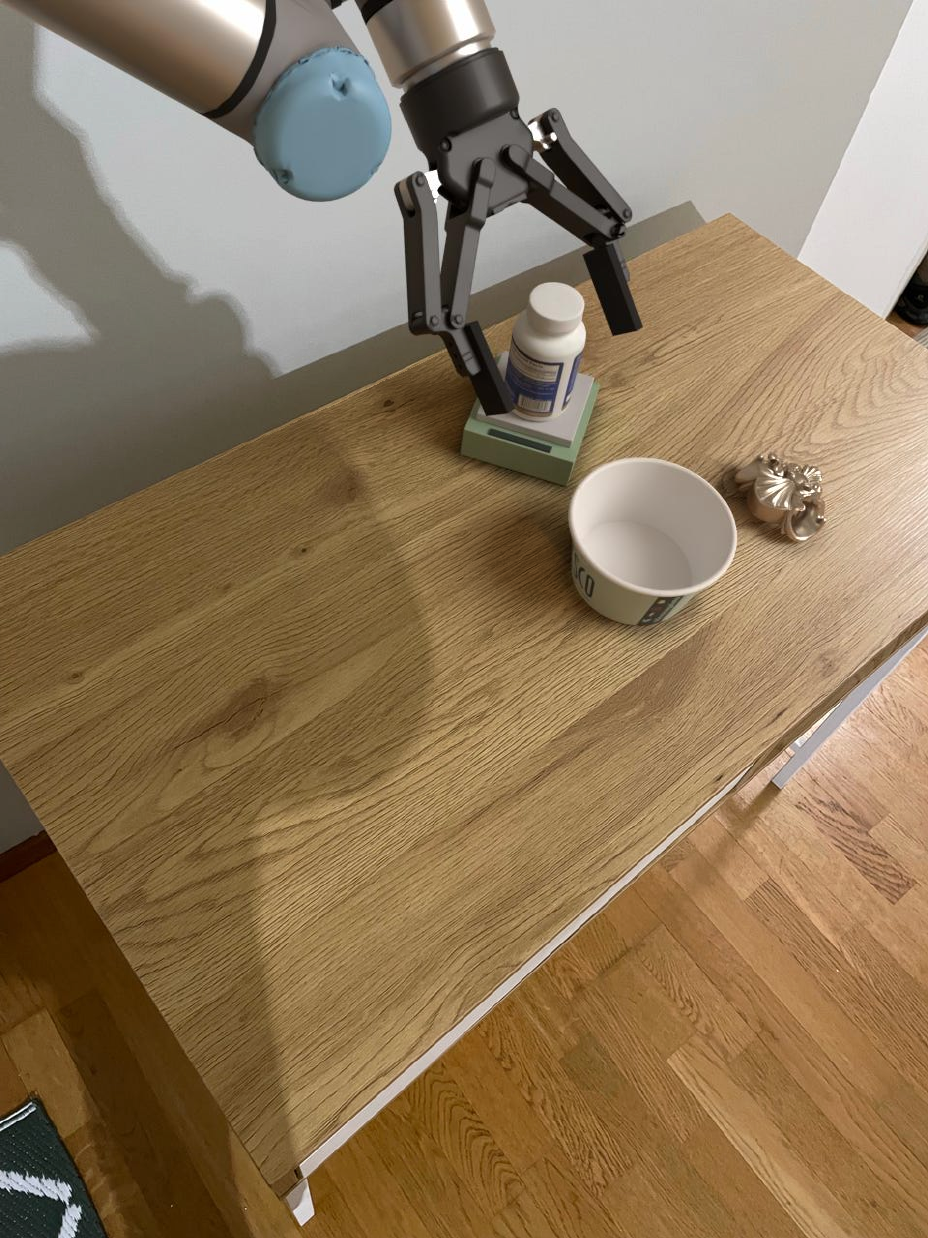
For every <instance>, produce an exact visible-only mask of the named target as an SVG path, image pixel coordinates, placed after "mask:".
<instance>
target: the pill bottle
mask: <svg viewBox="0 0 928 1238" xmlns="http://www.w3.org/2000/svg"><path fill="white" fill-rule="evenodd" d="M584 309H585V300H584V298H583V296H582V295H581V293H580V292H579V291H578V290H577V289H576V288H574V287H572V286H571V285H569V284H566V283H563V282H557V281H551V282H543V283H540V284H538V285H536V286H535V287H534V288H533V289H532V290H531V291H530V293H529V296H528V301H527V306H526V308H525V309H524V310H522V311H521V312H520V313H519V315H517V317H516V320H515V321H514V325H513V327H512V333H511V341H510V346H509V351H508V352H509V357H508V362H507V368H506V374H505V380H504V383H505V385H506V388H507V390H508V392H509V395H510V397H511V399H512V402H513V404H514V406H515V409H514V410H512V411H513V412H514V413H515V414H516V415H518V416H520V417H522V418H524V419H527V420H531V421H547V420H551V419H554V418H557V417H558V416H560V415H561V414H562V413H563V412H564V411H565V410H566V409H567V407H568V405H569V402H570V399H571V395H572V391H573V387H574V383H575V380H576V376H577V372H578V373H579V368H580V363H581V361H582V357H583V352H584V349H585V344H586V338H587V332H586V327H585V324H584V322H583V314H584Z"/></svg>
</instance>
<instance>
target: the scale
mask: <svg viewBox="0 0 928 1238" xmlns="http://www.w3.org/2000/svg"><path fill="white" fill-rule="evenodd" d="M493 357H494V360H495V362H496V364H497V367H498V369H499V371H500V374H501V376H502V378H503V381H504V380H505V374H506V368H507V362H508V357H509V351H506V350H502V353H501V354H500V353H495V355H494V356H493ZM594 380H595V376H591V375H588V374H585V373H581V372H579V371H578V372H577V376H576V380H575V383H574V387H573V391H572V395H571V399H570V402H569V405H568V407H567V409H566V410H565V411H564V412H563V413H562V414H561V415H560V416H558V417H557V418H554V419H551V420H547V421H531V420H527V419H524V418H522V417H520V416H518V415H516V414H515V413H514V412H513V411H511V412H509V413H507V414H499V415H491V416H486V415H485V412H484V410H483V408H482V406H481V403H480V401H479V399H478V397H477V396H476V399H475V402H474V404H473V406H472V409H471V411H470V413H469V416H468V418H467V420H466V422H465V425H464V427H463V431H462V438H461V446H460V455H462V456H465V457H467V458H468V457H469V458H471V459H474V460H478V461H482V462H485V463H488V464H491V465H495V466H497V467H498V466H499V467H500V468H504V469H508V470H511V471H514V472H517V473H521V474H524V475H528V476H531V477H534V478H537V479H540V480H544V481H547V482H551V483H553V484H557V485H559V486H565V487H568V485H569V482H570V479H571V476H572V473H573V471H574V467H575V464H576V462H577V459H578V455H579V452H580V449H581V446H582V443H583V441H584V438H585V434H586V431H587V429H588V425H589V423H590V419H591V416H592V413H593V410H594V407H595V404H596V400H597V397H598V394H599V390H600V387H601V383H599V382H595V381H594Z"/></svg>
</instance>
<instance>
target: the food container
mask: <svg viewBox="0 0 928 1238" xmlns="http://www.w3.org/2000/svg"><path fill="white" fill-rule="evenodd" d="M567 520H568V521H567V522H568V528H569V532H570V536H571V538H572V540H571V541H572V542H571V576H572V581H573V583H574V585H575V588H576V590H577V592H578V594H579V595H580V597H581V598H582V599H583V601H585V603H586V604H587V605H588V606H589V607H591V608H592V609H593V610H594V611H595V612H596V613H598V614H599V615H601V616H603V617H605V618H607V619H609V620H612V621H614V622H616V623H620V624H624V625H628V626H629V625H630V626H650V625H656V624H660V623H662V622H664V621H666V620H669V619H670V618H671V617H673V616H675V615H676V614H678V613H679V612H680V611H681V609H682V608H683V607H684V606H686V605H687V604H688V603H689V602H690V601H691V600H692V599H693V598H694V597H695V596H696V595H697V594H698V593H699V592H701V591H702V590H704V589H706V588H708V587H710V586H711V585H713V584H715V583H716V582H717V581H718V580H719V579H721V577H723V575H724V574H725V573H726V572H727V570H728V569H729V568H730V566H731V564H732V563H733V560H734V558H735V554H736V550H737V545H738V532H737V526H736V521H735V517H734V515H733V513H732V511H731V509H730V507H729V506H728V504H727V501H725V499H724V497H723V496H722V495H721V494H720V493H719V491H717V489H716V488H715V487H714V486H713V485H712V484H711V483H710V482H708V481H707V480H706V479H705V478H703V477H702V476H700V475H699V474H697V473H696V472H694V471H692V470H691V469H688V468H687V467H684V466H682V465H680V464H677V463H675V462H671V461H668V460H664V459H660V458H655V457H646V456H635V457H634V456H633V457H624V458H619V459H615V460H611V461H607V462H606V463H604V464H602V465H599V466H597V467H596V468H594V469H593V470H591V471H590V472H589V473H587V474H586V475H585V476H584V477H583V478H582V479H581V480H580V482H578V484H577V485H576V486H575V489H574V491H573V492H572V494H571V497H570V500H569V505H568V511H567Z"/></svg>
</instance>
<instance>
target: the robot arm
mask: <svg viewBox="0 0 928 1238" xmlns="http://www.w3.org/2000/svg"><path fill="white" fill-rule="evenodd" d="M353 1H354V3H355V4H356V6H357V8H358V11H359V12H360V13H361V14H360V15H361V17H362V20H363V23H364V24H365V25H364V26H365V27H366V29H367V32H368V33H369V36H370V38H371V40H372V44H373V45H374V48H375V50H376V53H377V56H378V57H379V59H380V62H381V64H382V66H383V70H384V71H385V74H386V76H387V78H388V81H389V83H390V86H391V87H392V88H395V89H397V90H400V89H402V90H403V94H402V95H401V97H400V99H399V100H400V103H398V104H399V105H398V106H399V108H400V110H401V113H402V115H403V118H404V120H405V122H406V125H407V127H408V129H409V132H410V134H411V136H412V139H413V143H414V144H415V146H416V148H417V150H418V151H419V152H420V153H422V154H423V155H424V157H425V158H426V161H427V166H428V171H427V172H423V171H420V170H416V171H415V172H413V173H411V174H409V175H407V176H405V177H404V178H403V179H401V180H399V181H397V182H396V183H395V184H394V186H393V193H394V196H395V199H396V202H397V206H398V208H399V211H400V214H401V218H402V221H403V223H402V224H403V239H404V240H403V241H404V242H403V243H404V244H403V245H404V262H405V285H406V286H405V287H406V304H407V305H406V306H407V325H408V326H407V327H408V330H409V332H410V334H412V335H413V336H414V337H415V336H416V337H418V336H423V335H432V336H439V337H440V338H441V340H442V342H443V344H444V346H445V348H446V351H447V354H448V355H449V357H450V359H451V362H452V364H453V366H454V369H455V371H456V373H457V374H458V375H459V376H460V377H461V378H469V380H470V383H471V385H472V388H473V390H474V392H475V394H476V398H477V397H478V399H479V401H480V403H481V406H482V408H483V410H484V412H485V415H486V416H491V415H499V414H507V413H509V412H511V411H512V410H514V409H515V406H514V404H513V402H512V399H511V397H510V395H509V392H508V390H507V388H506V385H505V383H504V381H503V378H502V376H501V374H500V371H499V369H498V367H497V364H496V362H495V360H494V357H495V356H494V355H493V353H492V350H491V348H490V346H489V344H488V341H487V338H486V336H485V334H484V332H483V329H482V327H481V325H480V321H479V320H474V321H471V322H466V321H467V316H468V309H469V304H470V297H471V291H472V286H473V279H474V273H475V266H476V260H477V256H478V255H477V254H478V249H479V242H480V237H481V231H482V230H483V228H484V226H485V225H486V222H487V219H488V218H491V217H493V216H495V215H497V214H499V213H501V212H503V211H504V210H506V209H507V208H509V207H511V206H514V205H516V204H518V203H521V204H525V205H526V204H527V205H530V206H531V207H533V208H534V209H535V210H537V211H538V212H539V213H541V214H543V215H544V216H545V217H547V218H548V219H550V220H551V221H552V222H554V223H555V224H557V225H558V226H560V227H561V228H563V229H564V230H566V231H567V232H568V233H570V234H571V235H573V236H574V237H575V238H577V239H579V240H580V241H582V243H584V244H586V245H587V246H588V247H591V248H593V249H591V250H589V251H586V252H585V253H583V254H582V258H583V261H584V263H585V266H586V269H587V272H588V275H589V278H590V279H591V282H592V285H593V287H594V290H595V292H596V295H597V299H598V301H599V303H600V306H601V309H602V311H603V314H604V317H605V319H606V322H607V325H608V328H609V331H610V333H611V336H612V337H616V336H620V335H624V334H629V333H634V332H638V331H640V330H641V329H642V328H644V325H643V323H642V320H641V318H640V314H639V311H638V309H637V306H636V303H635V301H634V298H633V295H632V292H631V288H630V285H629V284H628V283H629V282H630V281H631V274H630V270H629V267H628V265H627V262H626V259H625V257H624V254H623V250H622V248H621V245H620V241H619V240H621V239H623V238H624V237H625V236H626V235H627V226H626V224H627V223H629V222H631V221H632V219H633V210H632V208H631V207H630V206H629V203H627V202H626V201H625V199H624V198H623V197H622V196H621V194H619V192H618V191H617V190H616V189H615V188H614V187H613V185H612V184H611V183H610V181H609V180H608V179H607V178H606V176H605V175H604V174H603V173H602V172H601V170H600V169H599V168H598V167H597V165H595V164H594V162H593V160H592V159H590V158H589V156H588V155H587V154H586V153H585V152H584V150H583V149H582V148H581V146H580V145H579V144H578V143H577V141H576V140H574V138H573V137H572V136H571V134H570V131H569V129H568V127H567V124H566V122H565V120H564V118H563V116H562V113H561V112H560V110H559V109H558V108H557V107H551V108H549V109H547V110H545V111H544V112H542V113H540V114H539V115H537V116H535V117H533V118H531V119H530V120H529V121H528V122H527V124H526V123H525V122H524V120H523V119H522V117H521V116H520V112H519V104H520V101H521V97H520V93H519V91H518V88H517V85H516V82H515V79H514V77H513V74H512V72H511V69H510V66H509V63H508V61H507V58H506V56H505V52H504V50H502V49H501V50H500V49H499V47H497V46H494V47H493V46H492V43H491V42H492V41H494V38H495V35H496V34H497V31H496V28H495V25H494V23H493V20H492V17H491V15H490V11H489V9H488V7H487V4H486V1H485V0H353ZM345 2H348V0H0V4H2V5H4V6H5V7H7V8H9V9H11V10H12V11H13V12H14V11H15V12H16V13H18V14H19V15H22V16H23V17H24V18H27V19H28V20H30V21H32V22H34V23H36V24H37V25H39V26H41V27H43V28H44V29H47V30H48V31H50V32H52V33H54V34H55V35H57V36H59V37H61V38H63V39H64V40H66V41H68V42H70V43H72V44H73V45H75V46H77V47H78V48H81V49H82V50H84V51H86V52H88V53H89V54H91V55H93V56H95V57H97V58H99V59H100V60H102V61H104V62H106V63H107V64H109V65H111V66H113V67H114V68H116V69H119V70H120V71H122V72H123V73H125V74H127V75H129V76H131V77H132V78H134V79H136V80H138V81H140V82H141V83H143V84H145V85H147V86H149V87H150V88H153V89H154V90H155V91H158V92H159V93H161V94H163V95H164V96H166V97H168V98H170V99H172V100H174V101H176V102H177V103H179V104H180V105H183V107H186V108H188V109H190V110H192V111H194V112H195V113H197V114H199V115H201V116H203V117H204V118H205V119H208V120H209V121H211V122H212V123H214V124H216V125H218V126H219V127H221V128H222V129H224V130H227V131H228V133H231V134H233V135H234V136H236V137H238V138H240V139H242V140H244V141H245V142H246V143H248V144H249V145H251V146H252V147H253V152H254V155H255V158H256V160H257V161H258V163H259V164H260V165H261V166H262V167H263V168H264V170H265V171H266V172H268V173H269V175H270V176H271V178H273V179H272V180H274V181H275V183H276V184H277V185H278V186H279V187H280V189H282V190H283V191H285V192H286V193H288V194H289V195H291V196H293V197H295V198H297V199H300V200H302V201H305V202H306V201H307V202H313V203H314V202H315V203H326V202H333V201H337V200H340V199H343V198H346V197H348V196H350V195H353V194H355V192H357V191H358V190H360V189H361V188H362V187H364V186H365V185H366V184H367V183H369V181H370V180H371V179H372V178H373V176H374V174H376V173H377V172H378V170H379V168H380V166H381V165H382V164H383V163H384V160H385V158H386V156H387V154H388V152H389V148H390V144H391V139H392V131H393V130H392V128H393V126H392V115H391V111H390V107H389V104H388V101H387V98H386V96H385V94H384V92H383V91H382V89H381V87H380V85H379V83H378V81H377V76H376V73H375V70H374V69H373V68H372V66H371V63H370V61H369V60H368V59H367V57H365V56H364V55H362V53H361V51H360V50H359V49H358V47H357V45H356V44H355V43H354V41H353V40H352V38H351V37H350V36H349V34H348V32H347V31H346V29H345V28H344V26H343V25H342V24H341V22H340V20H339V19H338V17H337V16H336V14H335V13H334V11H333V10H335V9H337V8H339V7H341V6H342V4H343V3H345ZM534 152H537V153H538V155H539V156H540V157H541V160H542V161H543V162H544V163H545V165H546V166H547V167H548V168H549V169H548V168H547V167H546V166H545V165H544V164H542V163H540V162H539V161H537V159H535V158H534ZM555 177H556V178H557V179H558V180H559V181H560V182H559V181H558V180H557V179H556V178H555ZM439 196H441V197H442V198H443V199H445V200H446V201H447V206H446V213H445V220H444V226H443V230H444V232H445V234H446V235H445V242H444V246H443V247H444V248H443V252H442V259H441V265H440V245H439V241H440V240H439V222H438V221H439V220H438V219H439V218H438V211H437V205H436V204H437V202H438V198H439Z"/></svg>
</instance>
